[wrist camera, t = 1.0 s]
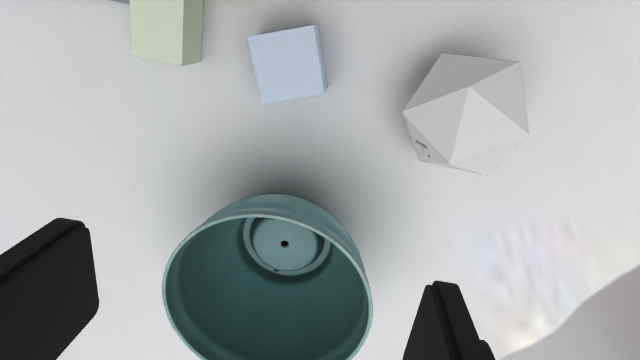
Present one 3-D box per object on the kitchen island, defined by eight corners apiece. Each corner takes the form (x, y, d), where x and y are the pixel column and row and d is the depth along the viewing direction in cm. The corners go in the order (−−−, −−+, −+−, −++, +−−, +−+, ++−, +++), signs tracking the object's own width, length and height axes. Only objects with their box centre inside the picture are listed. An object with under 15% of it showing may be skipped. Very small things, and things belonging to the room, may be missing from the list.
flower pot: (199, 162, 36) (140, 215, 26) (368, 160, 34) (374, 216, 24) (222, 296, 42) (181, 381, 32) (366, 299, 40) (371, 389, 30)
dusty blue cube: (259, 35, 31) (246, 36, 27) (318, 25, 30) (313, 24, 26) (272, 95, 33) (261, 104, 29) (327, 86, 32) (324, 94, 28)
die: (412, 39, 30) (371, 120, 25) (537, 15, 25) (517, 111, 20) (435, 118, 36) (405, 198, 31) (542, 111, 31) (528, 207, 25)
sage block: (156, -11, 30) (129, -17, 26) (204, -2, 30) (183, -6, 26) (156, 52, 32) (130, 55, 28) (201, 61, 32) (181, 65, 28)
